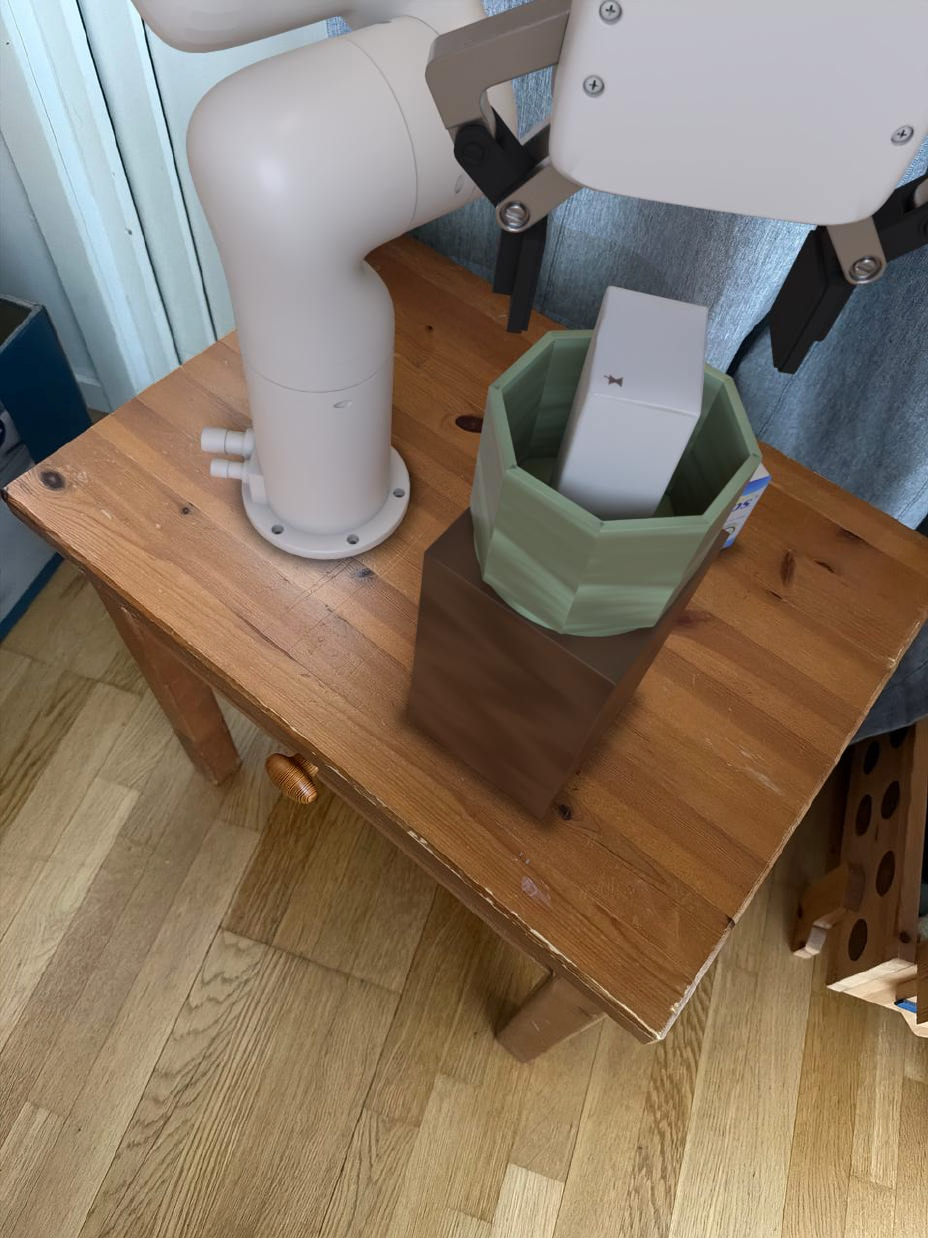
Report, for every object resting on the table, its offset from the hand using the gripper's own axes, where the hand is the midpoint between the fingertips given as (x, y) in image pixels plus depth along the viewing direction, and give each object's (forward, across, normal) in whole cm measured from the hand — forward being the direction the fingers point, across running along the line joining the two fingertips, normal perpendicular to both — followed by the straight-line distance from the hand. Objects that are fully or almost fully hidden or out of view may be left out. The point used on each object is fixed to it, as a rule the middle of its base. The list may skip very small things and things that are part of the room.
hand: (649, 326), depth 32 cm
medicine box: (+34, -12, -15) cm, 39 cm away
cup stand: (+33, -1, 0) cm, 33 cm away
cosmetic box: (+13, 0, 0) cm, 13 cm away
